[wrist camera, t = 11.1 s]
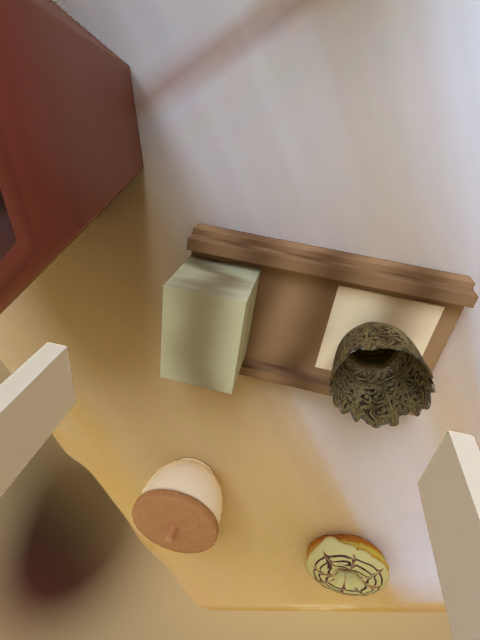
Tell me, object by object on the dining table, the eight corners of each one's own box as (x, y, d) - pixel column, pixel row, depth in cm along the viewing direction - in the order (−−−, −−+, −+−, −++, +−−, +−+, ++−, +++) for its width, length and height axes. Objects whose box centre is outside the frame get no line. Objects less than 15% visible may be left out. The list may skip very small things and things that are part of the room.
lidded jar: (141, 466, 54) (108, 529, 46) (186, 432, 49) (158, 496, 41) (198, 509, 56) (176, 576, 48) (247, 481, 51) (232, 551, 43)
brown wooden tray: (188, 348, 43) (159, 398, 35) (198, 223, 35) (164, 254, 28) (411, 399, 40) (428, 465, 33) (469, 276, 33) (508, 325, 26)
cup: (354, 380, 38) (360, 440, 31) (314, 324, 36) (310, 375, 29) (429, 347, 35) (454, 407, 28) (389, 284, 33) (405, 331, 26)
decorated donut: (316, 519, 52) (315, 546, 49) (396, 540, 51) (401, 570, 48) (300, 560, 58) (299, 587, 55) (373, 581, 57) (376, 609, 53)
